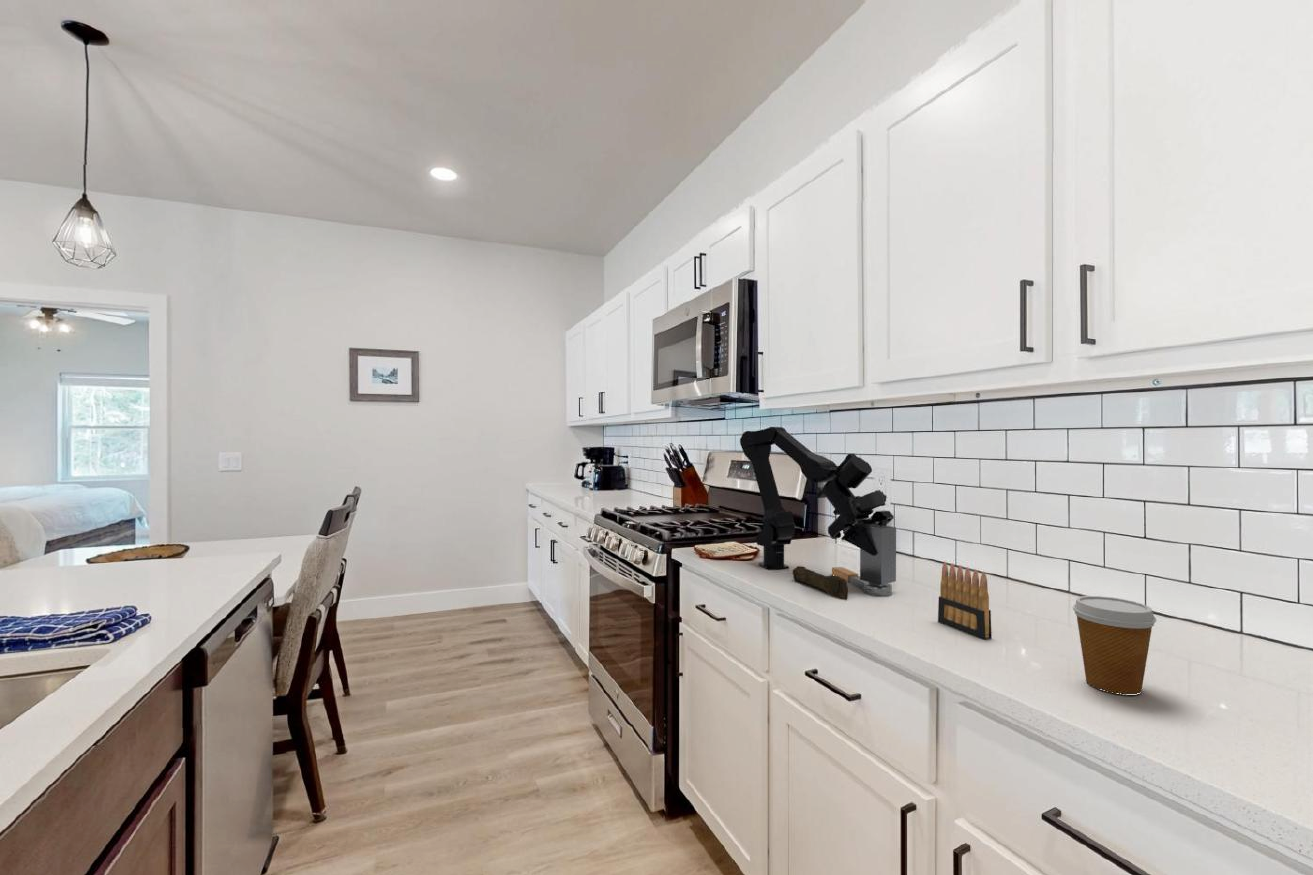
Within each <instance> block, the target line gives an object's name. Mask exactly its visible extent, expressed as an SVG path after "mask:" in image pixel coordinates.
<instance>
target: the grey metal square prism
mask: <svg viewBox="0 0 1313 875" xmlns="http://www.w3.org/2000/svg"><path fill="white" fill-rule="evenodd" d="M864 532H865V534H866V535H867V537H868V539H869V540H870V542H871V543H872V545H873V546H874V548H875V550H876V552H877V554H876V555H875V556H873V555H871V554H869V553H867V552H866V551H864V550H862V549H860V548H859V551H860V553H859V576H860V580H863V581H867V582H872V583H876V584H880V585H883V584H887V583H888V584H892V583H894V582H897V527H896V526H890V525H889V526H888V525H886V526H883V525H876V524H873V525H866V526H864Z"/></svg>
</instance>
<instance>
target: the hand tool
mask: <svg viewBox="0 0 1313 875" xmlns="http://www.w3.org/2000/svg"><path fill="white" fill-rule="evenodd" d="M792 575H793V576H792V578H793V580H794V581H795V582H798V583H800V582H801V583H804V584H807V585H810V586H812V587H814V588H817V589H820V590H823V591H825V592H826V594H827V595H828V594H829V595H828V596H830V595H831V596H830V597H833V596H834V597H833V598H837V597H838V599H843V600H847V599H848V597H849V594H848V593H849V587H848V582H846V580H845V579H843V578H841V577H839V576H833V575H832V574H830V575H824V574H821V573H818V572H816V571H814V570H810V569H808V568H806V567H805V566H801V565H798V566H796V567H795V568H793V569H792Z"/></svg>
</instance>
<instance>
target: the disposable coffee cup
mask: <svg viewBox="0 0 1313 875" xmlns="http://www.w3.org/2000/svg"><path fill="white" fill-rule="evenodd" d="M1072 609H1073V611H1074V614H1075V615H1076V619H1077V620H1076V621H1077V627H1078V634H1079V642H1080V648H1081V654H1082V661H1083V667H1084V675H1085V681H1087V682H1088V683H1089V684H1090V685H1092V686H1094V687H1096V688H1098V689H1097V690H1099V689H1102V690H1105V691H1108V692H1113V693H1119V694H1120V693H1121V694H1137V693H1140V692H1141V693H1142V691H1143V690H1142V689H1143V683H1144V678H1145V672H1146V668H1147V667H1146V666H1147V659H1148V655H1149V647H1150V641H1151V635H1152V630H1153V629H1152V628H1153V627H1154V626H1155V623H1156V622H1157V617H1156V616H1154V612H1153V609H1152V608H1151V607H1150V606H1148V605H1146V604H1143V603H1140V602H1136V601H1133V600H1128V599H1124V598H1117V597H1113V596H1112V597H1111V596H1110V597H1109V596H1103V595H1102V596H1101V595H1100V596H1099V595H1082V596H1079V597H1077V598H1076V600H1075V604H1074V605H1073V606H1072ZM1087 682H1086V683H1087ZM1088 683H1087V684H1088ZM1089 684H1088V685H1089ZM1090 685H1089V686H1090ZM1092 686H1091V687H1092ZM1094 687H1093V688H1094ZM1096 688H1095V689H1096ZM1108 692H1107V693H1108Z"/></svg>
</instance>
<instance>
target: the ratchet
mask: <svg viewBox="0 0 1313 875" xmlns="http://www.w3.org/2000/svg"><path fill="white" fill-rule="evenodd" d="M831 575H834V576H839V577H841V578H843V579H845V580H846V582H847V583H850V584H852V585H853V586H855V587H859V588H861V589H863V592H864V594H866V595H869V596H872V597H877V598H878V597H879V598H880V597H881V598H884V597H885V598H886V597H891V596H892V595H893V594H892V593H893V586H892V583H887V584H883V585H880V584H876V583H872V582H867V581H863V580H860V575H859V573H858V572H855V571H852V570H850V569H847V568H845V567H843V566H835V567H831Z"/></svg>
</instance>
